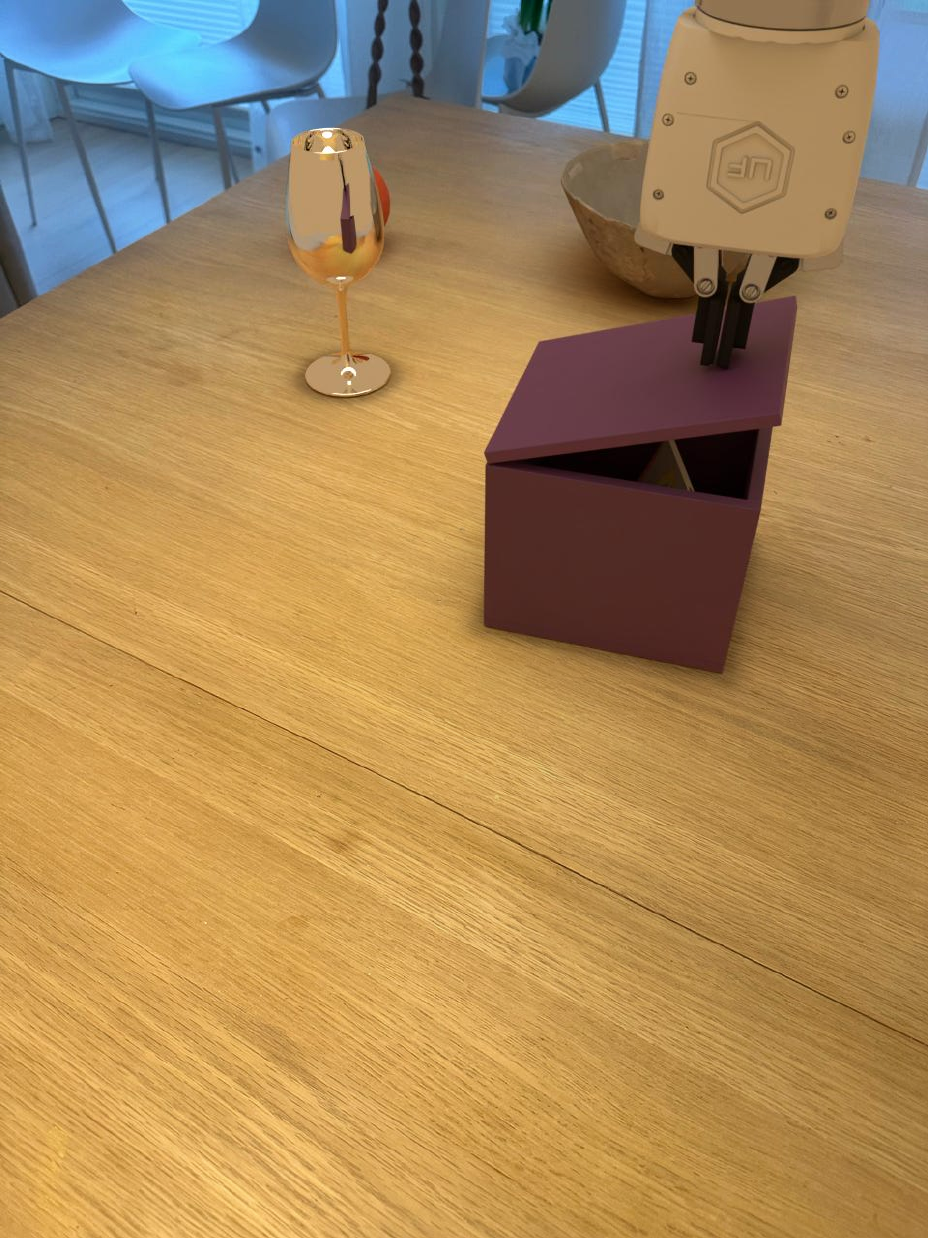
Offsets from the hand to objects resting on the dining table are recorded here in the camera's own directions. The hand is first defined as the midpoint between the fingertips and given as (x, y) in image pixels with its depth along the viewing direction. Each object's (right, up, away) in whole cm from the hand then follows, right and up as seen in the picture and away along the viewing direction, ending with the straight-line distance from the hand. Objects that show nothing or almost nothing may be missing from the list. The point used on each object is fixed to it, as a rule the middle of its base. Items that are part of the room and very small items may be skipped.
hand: (716, 354), depth 59 cm
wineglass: (-24, +6, +34) cm, 42 cm away
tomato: (-27, +25, +53) cm, 65 cm away
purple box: (-4, -12, +13) cm, 18 cm away
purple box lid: (-4, -1, +2) cm, 4 cm away
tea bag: (-1, -13, +12) cm, 17 cm away
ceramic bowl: (+6, +20, +48) cm, 52 cm away
